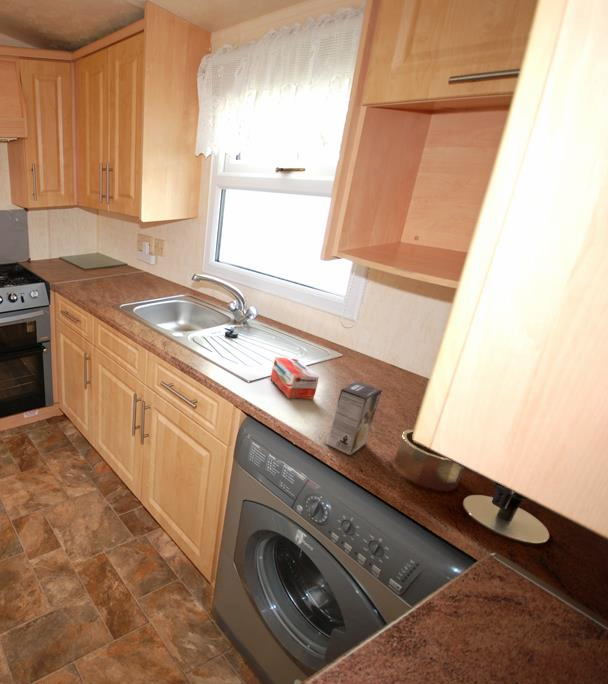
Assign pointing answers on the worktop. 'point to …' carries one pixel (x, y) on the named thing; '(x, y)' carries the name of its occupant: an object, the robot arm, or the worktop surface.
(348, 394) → the coffee box
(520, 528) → the lid
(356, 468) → the worktop surface
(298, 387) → the medicine box
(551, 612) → the worktop surface
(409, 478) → the pot
